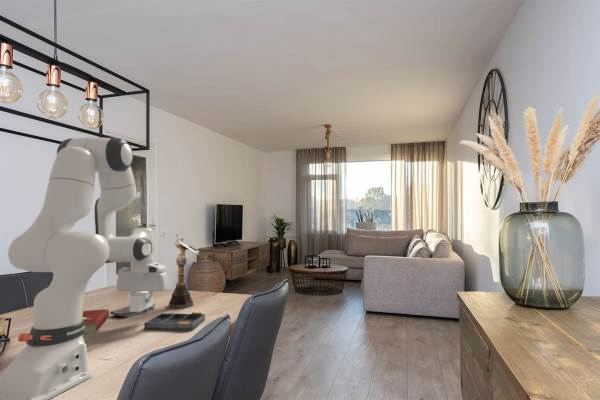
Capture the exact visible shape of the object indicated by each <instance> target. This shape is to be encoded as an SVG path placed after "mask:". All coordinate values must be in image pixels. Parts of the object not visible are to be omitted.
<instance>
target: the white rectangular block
mask: <svg viewBox="0 0 600 400" xmlns="http://www.w3.org/2000/svg"><path fill="white" fill-rule="evenodd" d="M149 295H150V294H148V291H138V293H137V292H136V293H135V294H134V295H130V296H129V306H130V312H140V311H142V310H145V309H147V308H149V307H151V306H153V304H154V302H153V301H154V295H153V296H152V297H151V302H150V303H146V298H148V297H149Z"/></svg>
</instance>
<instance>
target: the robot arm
mask: <svg viewBox="0 0 600 400" xmlns="http://www.w3.org/2000/svg"><path fill="white" fill-rule="evenodd" d="M133 160H134V152H133V148H132V146H131V145H130V143H128V141H127V140H125V139H123V138H117V137H96V136H86V137H71V138H66V139H64V140H62V141H61V142H60V144H59V145H58V147H57V150H56V157H55V159H54V161H53V163H52V164H53V165H52V167H51V170H50V174H49V178H48V182H47V188H46V193H45V197H44V200H43V204H42V208H41V210H40V212H39V214H38V215H37V217H36V219H35V220H34V222H33V223H32V224H31V225H30V226H29V228H27V230H25V231H24V232H23V233H22V234H20V235H18V236H17V237H15V238H14V239H13V240H12V242H11V243H10V245H9V247H8V253H7V257H8V260H9V262H10V264H11V265H12V266H13V267H14V268H16V269H19V270H22V271H27V272H32V273H53V276H52V280H51V282H50V284H49V286H48V287H46V288H44V289H42V290H41V291H40V292H38V293H37V294H36V295H35V297H34V300H33V317H32V318H33V322H32V327H31V328H30V331H29V332H28V333H23V332H21V333H19V335H18V336H17V341H18V342H19V343H22V342H24V343H26V345H25V346H24V347H23V349H22V350H21V351H20V352H19V353H18V354H17V356H16V357H15V358H14V359H13V360H12V361H11V363H10V364H8V366H7V367H6V368H5V369H4V370H3V372H2V374H1V376H0V400H51V399H52V398H54V397H55V396H58V395H59V394H61V393H63V392H65V391H67V390H69V389H71V388H74V387H75V386H77V385H79V384H81V383H83V382H84V381H86V380H88V379H90V378H92V377H93V376H92V375H93V374H92V371H91V370H90V369H89V360H88V350H87V345H86V342H85V339H84V334H85V333H84V328H85V325H84V319H83V311H84V297H85V293H86V288H87V285H88V283H89V282H90V280H91V278H92V277H93V275H94V274H95V273H96V272H97V271H98V270H99V269H101V268H102V267H103V266H104V265H105V264H111V263H130V267H128V266H127V267H121V268H119V269H118V271H117V279H116V290H117V291H118V292H129V295H130V296H131V295H134V294H137V292H142V291H148V294H150V295H149V297H148V298H146V303H150V302H151V297H152V296H153V297H154V294H155V292H164V291H167V289H168V288H169V277H168V273H167V272H166V271H167V266H166V265H164V264H161V263H159V262H155V259H156V258H155V253H154V252H155V249H156V248H155V247H156V242H155V241H156V238H155V232H154V229H153V228H150V227H146V226H144V227H143V226H138V227H134V228H133V229H132V234H130V235H129V236H116V235H114V234H113V233H112V215H113V213H115V212H118V211H121V210H123V209H124V208H126V207H128V206H129V205H132V203H133V202H134V201H135V199H136V197H137V186H136V182H135V177H134V173H133V170H132V167H131V165H133ZM96 173H97V176H98V177H97V178H98V183H99V186H100V196H99V198H97V199H96V201H95V202H94V203H95V204H94V225H95V228H94V229H95V233H94V232H89V231H88V232H87V231H71V230H72V229H73V227H74V226H75V225H76V223H77V222H78V221H81V220H82V219H83V218H85V217H87V216H88V215H89V213H90V211H91V209H92V202H93V196H94V190H95V183H96Z"/></svg>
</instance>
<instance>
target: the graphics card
mask: <svg viewBox="0 0 600 400" xmlns="http://www.w3.org/2000/svg"><path fill="white" fill-rule="evenodd" d="M153 311H157V310H156V303H153V306H151V307H149V308H147V309H145V310H142V311H140V312H130V305H128V306H125V307H122V308H119V309H118V308H117V309H114V310H109V316H110V315H112V316H117V317H118V316H119V317H121V318H123V317H124V318H130V317H133V316H137V315H139V314H144V315H145V314H146V313H151V312H153ZM136 314H137V315H136Z"/></svg>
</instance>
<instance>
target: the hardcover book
mask: <svg viewBox="0 0 600 400" xmlns="http://www.w3.org/2000/svg"><path fill="white" fill-rule="evenodd" d="M109 316H110V310H109V308H102V309H91V310H83V319H84V325H85V328H84V333H83V334H88V333H89V334H90V333H97V332H98V331H99V330H100V328H101V327H102V326H103V324H104V323H105V322H106V321H107V320H108V319H109Z"/></svg>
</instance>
